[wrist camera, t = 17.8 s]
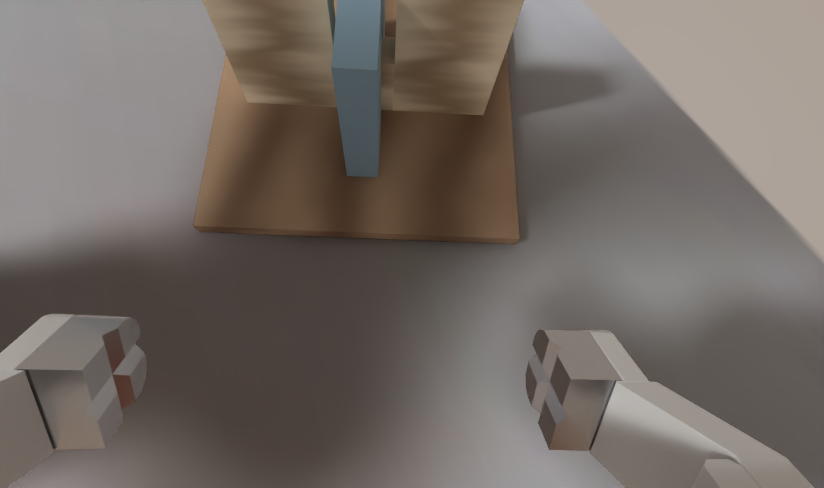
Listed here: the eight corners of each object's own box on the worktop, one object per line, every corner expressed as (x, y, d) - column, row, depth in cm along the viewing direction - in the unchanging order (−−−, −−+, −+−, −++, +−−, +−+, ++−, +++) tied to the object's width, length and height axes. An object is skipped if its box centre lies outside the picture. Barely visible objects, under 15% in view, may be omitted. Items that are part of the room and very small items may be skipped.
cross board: (199, 231, 28) (95, 132, 18) (244, -11, 35) (187, -185, 25) (515, 244, 30) (588, 157, 19) (500, 6, 36) (548, -153, 26)
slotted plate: (378, 177, 29) (377, 70, 20) (346, 175, 29) (331, 67, 20) (385, 31, 33) (386, -117, 24) (357, 29, 33) (348, -120, 24)
